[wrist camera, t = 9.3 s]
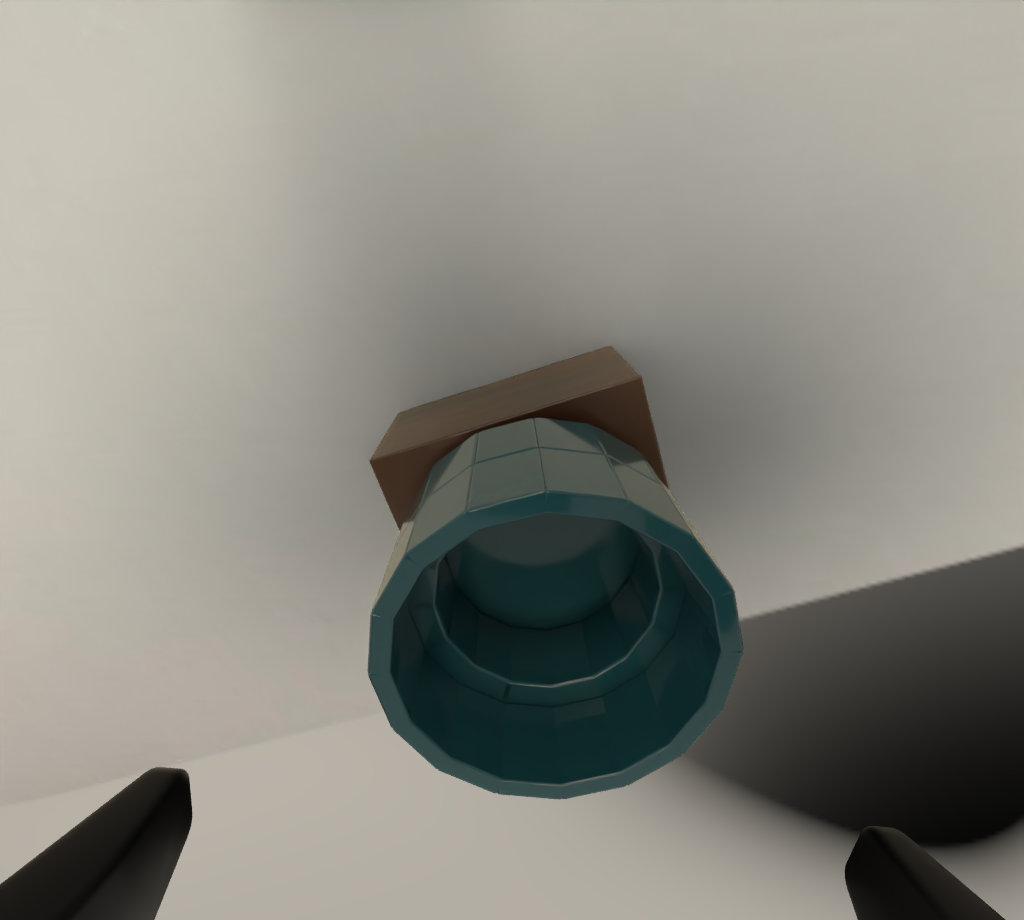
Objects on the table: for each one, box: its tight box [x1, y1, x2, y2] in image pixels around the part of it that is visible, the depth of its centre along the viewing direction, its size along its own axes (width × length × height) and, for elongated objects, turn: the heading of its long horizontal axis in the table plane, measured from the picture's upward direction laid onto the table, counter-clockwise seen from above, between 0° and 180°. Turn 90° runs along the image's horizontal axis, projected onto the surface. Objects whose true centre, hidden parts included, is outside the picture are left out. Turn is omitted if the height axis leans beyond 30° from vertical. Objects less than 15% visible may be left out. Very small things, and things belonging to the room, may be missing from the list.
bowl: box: [368, 417, 743, 799], centre depth 12 cm, size 6×6×4 cm
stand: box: [370, 346, 669, 531], centre depth 16 cm, size 6×6×4 cm
